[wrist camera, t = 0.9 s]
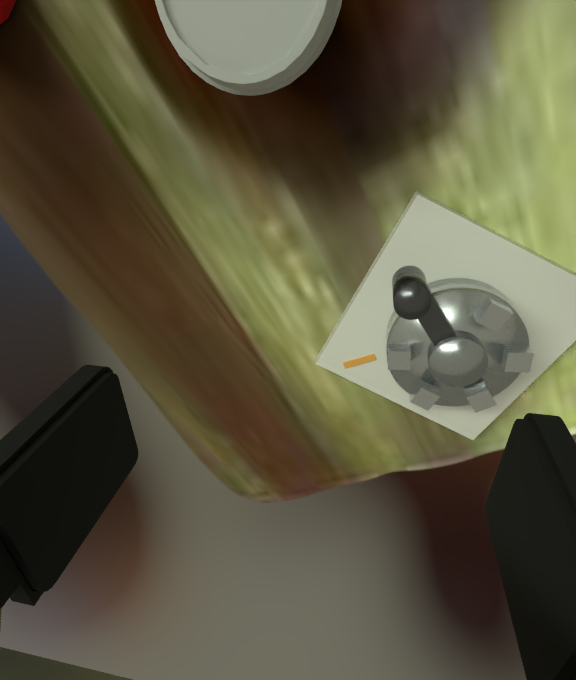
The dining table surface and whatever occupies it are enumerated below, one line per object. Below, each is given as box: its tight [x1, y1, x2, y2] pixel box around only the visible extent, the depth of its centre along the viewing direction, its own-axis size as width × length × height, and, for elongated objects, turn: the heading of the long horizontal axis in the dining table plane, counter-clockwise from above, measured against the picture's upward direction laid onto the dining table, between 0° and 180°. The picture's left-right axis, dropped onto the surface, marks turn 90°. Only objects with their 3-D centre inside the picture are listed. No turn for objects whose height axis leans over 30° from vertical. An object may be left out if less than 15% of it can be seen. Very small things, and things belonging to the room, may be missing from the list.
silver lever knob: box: [386, 266, 534, 413], centre depth 32 cm, size 15×11×8 cm
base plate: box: [316, 191, 576, 440], centre depth 37 cm, size 18×18×2 cm
